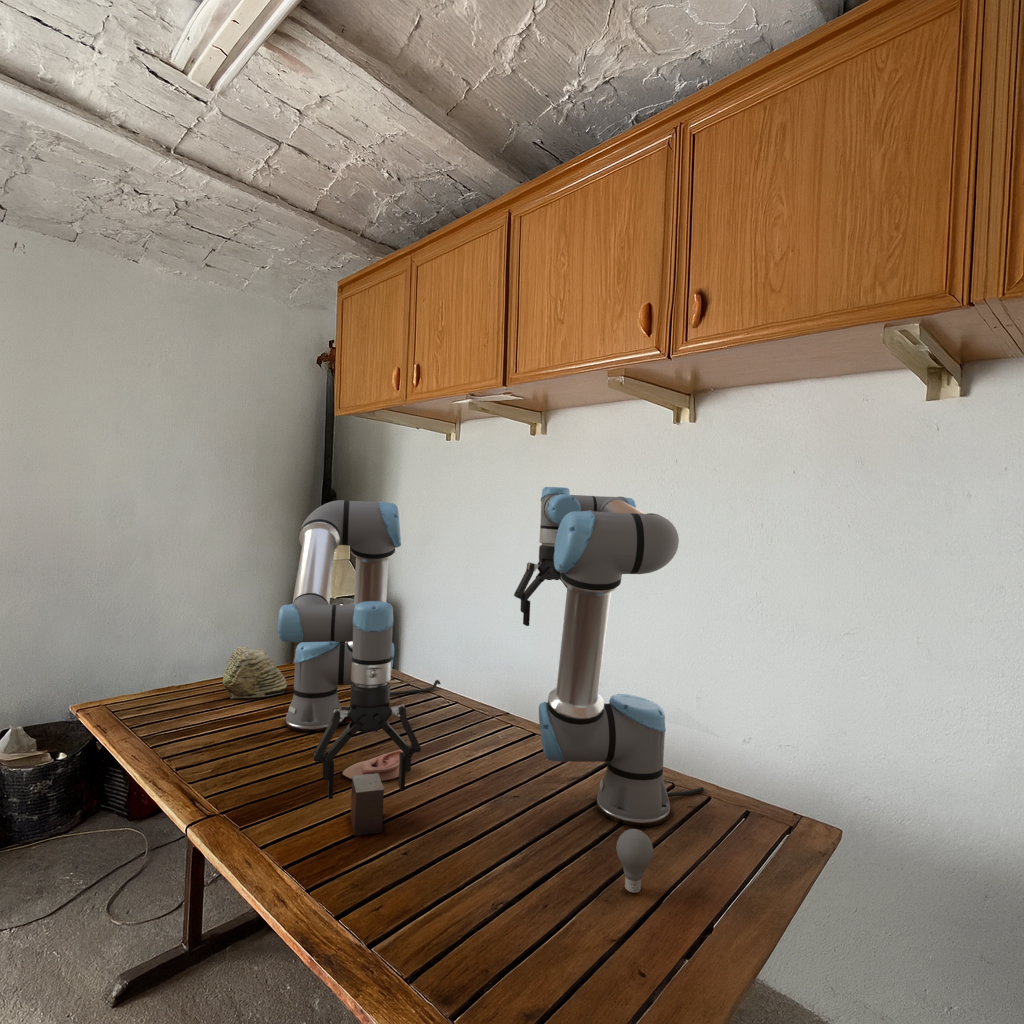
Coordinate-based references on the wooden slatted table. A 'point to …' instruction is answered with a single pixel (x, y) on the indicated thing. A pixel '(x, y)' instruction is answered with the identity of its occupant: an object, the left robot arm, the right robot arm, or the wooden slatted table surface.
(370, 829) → the block
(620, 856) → the light bulb
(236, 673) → the fossil
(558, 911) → the wooden slatted table surface
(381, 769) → the anatomical model
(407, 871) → the wooden slatted table surface
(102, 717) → the wooden slatted table surface
